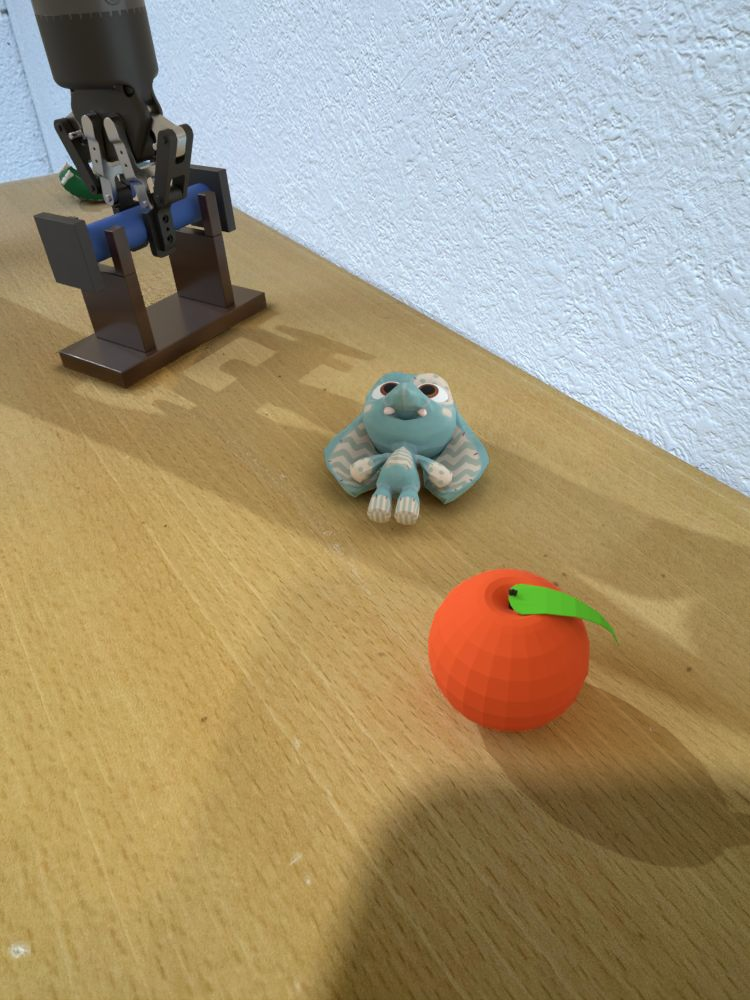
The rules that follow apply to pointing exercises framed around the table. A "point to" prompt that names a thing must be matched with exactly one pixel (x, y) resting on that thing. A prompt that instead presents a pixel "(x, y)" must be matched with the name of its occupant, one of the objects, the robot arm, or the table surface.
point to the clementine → (511, 649)
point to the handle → (86, 245)
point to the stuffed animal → (406, 447)
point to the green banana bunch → (76, 184)
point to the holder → (160, 305)
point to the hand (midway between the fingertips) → (150, 250)
